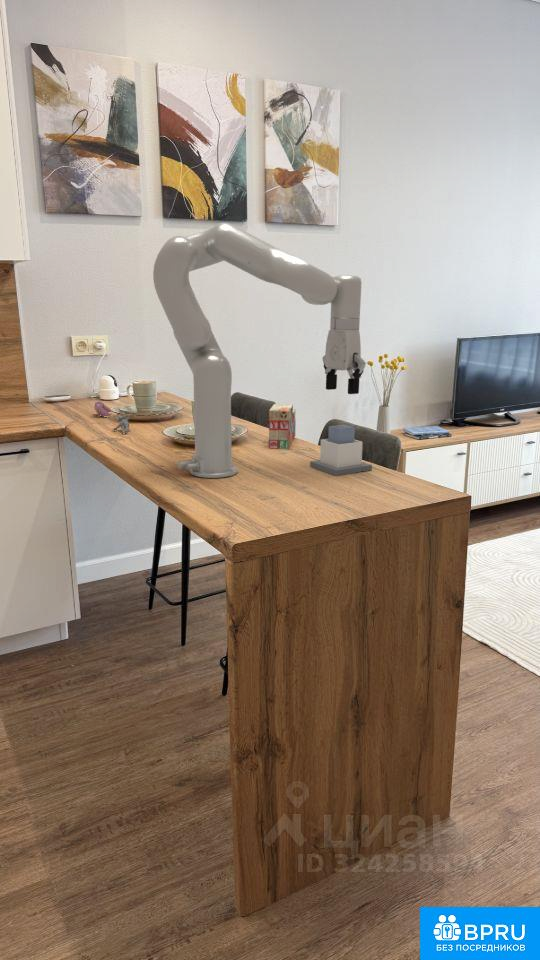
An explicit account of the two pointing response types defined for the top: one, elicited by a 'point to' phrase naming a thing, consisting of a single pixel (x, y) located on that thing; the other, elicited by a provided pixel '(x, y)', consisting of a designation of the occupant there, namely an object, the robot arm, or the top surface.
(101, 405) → the purple rounded piece
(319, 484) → the top surface
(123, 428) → the elephant figurine
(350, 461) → the tower base
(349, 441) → the top brick
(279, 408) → the stack of blocks
